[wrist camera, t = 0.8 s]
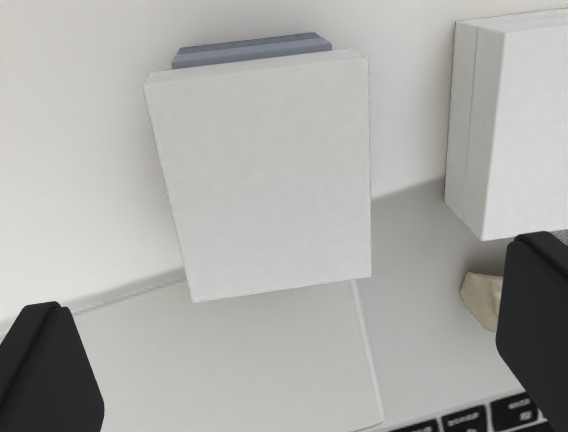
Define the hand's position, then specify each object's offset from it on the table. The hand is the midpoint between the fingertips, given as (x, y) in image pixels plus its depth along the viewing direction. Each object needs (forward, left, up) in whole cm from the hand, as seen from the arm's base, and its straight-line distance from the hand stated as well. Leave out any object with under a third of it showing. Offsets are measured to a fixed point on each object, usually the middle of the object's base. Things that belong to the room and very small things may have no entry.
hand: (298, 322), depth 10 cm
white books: (0, +11, -11) cm, 15 cm away
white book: (0, 0, -8) cm, 8 cm away
